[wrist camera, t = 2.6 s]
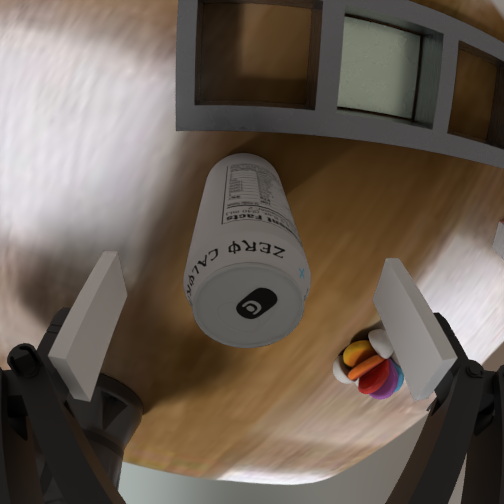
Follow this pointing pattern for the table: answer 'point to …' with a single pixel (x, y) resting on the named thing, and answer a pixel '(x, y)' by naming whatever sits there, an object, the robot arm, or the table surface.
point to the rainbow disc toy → (371, 366)
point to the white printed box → (499, 240)
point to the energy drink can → (246, 257)
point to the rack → (357, 78)
